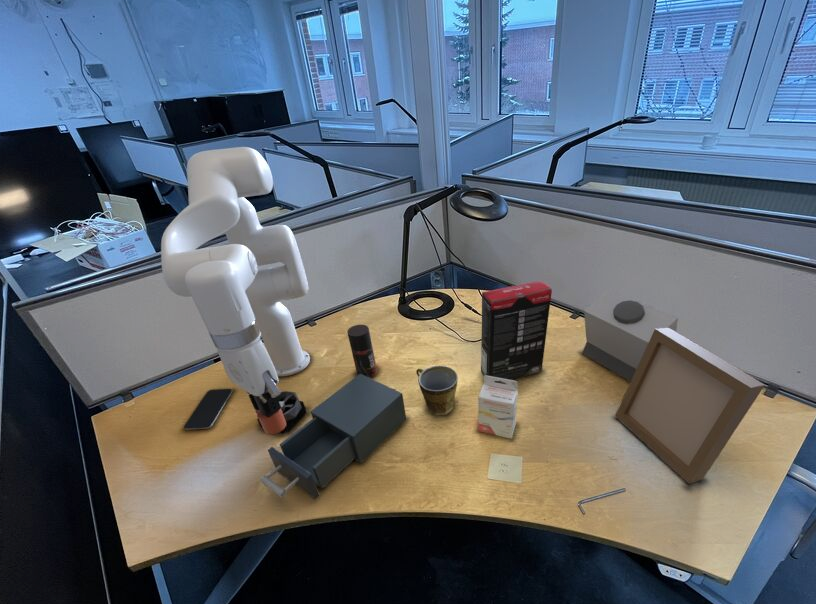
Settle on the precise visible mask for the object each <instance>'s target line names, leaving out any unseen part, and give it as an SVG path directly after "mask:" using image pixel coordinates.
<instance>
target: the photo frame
mask: <svg viewBox="0 0 816 604" xmlns="http://www.w3.org/2000/svg"><path fill="white" fill-rule="evenodd" d="M629 382H630V381H629ZM765 386H766V384H765V383H763V382H761V381H759V380H758V379H756V378H754V377H752V376H750V374H748V373H746V372H744V371H743V370H741V369H739V368H737V366H736V367H735V366H734V365H732V363H731V364H730V363H729V362H728V361H726V360H724V359H723V358H721V357H719V356H717V355H716V354H714V353H712V352H711V351H709V350H707V349H705V348H704V347H702V346H700V345H699V344H697V343H696V342H694V341H692V340H691V339H689V338H687V337H686V336H684V335H682V334H680V333H679V332H677V331H676V332H675V331H673V330H672V329H670V328H659V329H655V330H654V332H653V334H652V337H651V339H650V341H649V343H648V345H647V347H646V350H645V352H644V354H643V356H642V358H641V360H640V363H639V365H638V367H637V369H636V371H635V373H634V376H633V378H632V380H631V382H630V383H629V385H628V387H627V388H626V391H625V393H624V395H623V398H622V400H621V402H620V404H619V406H618V408H617V410H616V413H615V416H614V417H615V418H616V419H618V421H620V422H621V423H622V424H623V425H624V426H625V427H626V428H627V429H628V430H630V432H632V433H633V434H634V435H635V436H636V437H637V438H638V439H639V440H640V441H641V442H642V443H644V444H645V445H646V446H647V447H648V448H649V449H651V451H652V452H654V453H655V454H656V455H657V456H658V457H659V458H660V459H661V460H662V461H664V462H665V464H667V465H668V466H669V467H670V468H671V469H672V470H674V472H676V473H677V474H678V476H680V477H681V478H682V479H683V480H684V481H685V482H687V483H688V484H693V483H695V482H698V481H702V480H704V478H705V477H706V475H707V474H708V472H709V470H710V469H711V467H712V466H713V465H714V464H715V461H716V460H717V459H718V457H719V455H721V452H722V451H723V449H725V447H726V445H727V443H728V442H729V440H730V439H731V437H732V436H733V435H734V433H735V432H736V430H737V428H738V427H739V425H740V424H741V422H742V421H743V419H744V418H745V416H746V415H747V413H748V412H749V410H750V408H751V407H752V406H753V404H754V403H755V401H756V400H757V398H758V396H760V394H761V392H762V391H763V390H764V387H765Z"/></svg>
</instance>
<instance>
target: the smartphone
mask: <svg viewBox="0 0 816 604" xmlns="http://www.w3.org/2000/svg"><path fill="white" fill-rule="evenodd" d="M232 393H233V389H232V388H220V389H219V388H218V389H209V390H208V391H206V393H205V395H204V396H203V397H202V399H201V400H200V402H199V403H198V405H197V406H196V408H195V409H194V410H193V412H192V414H191V415H190V417H189V418H188V420H187V421H186V422H185V424H184V425H183V428H184V430H187V431H188V430H189V431H192V430H206V429H207V430H208V429H210V428H212V427H213V425H214V423H215V422H216V420H217V419H218V417H219V415H220V414H221V412H222V411H223V409H224V407H225V405H226V404H227V402H228V400H229V398H230V397H231V396H232Z"/></svg>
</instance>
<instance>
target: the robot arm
mask: <svg viewBox="0 0 816 604" xmlns="http://www.w3.org/2000/svg"><path fill="white" fill-rule="evenodd" d="M186 177H187V192H188V194H187V195H188V205H187V206H186V207H185V208H183V210H181V211H180V212H179V213H178V214H177V215H176V216H175V218H174V219H173V220H171V222H170V223H169V224H168V226H166V228H165V230H164V231H163V234H162V236H161V243H160V263H161V271H162V276H163V279H164V281H165V284H166V286H167V287H168V289H169V290H170V291H171V292H172V293H174V294H175V295H177V296H179V297H184V298H185V297H188V298H189V297H190V298H192V301H193V303H194V305H195V307H196V309H197V311H198V313H199V315H200V317H201V320H202V322H203V324H204V326H205V328H206V330H207V332H208V334H209V336H210V338H211V341H212V343H213V345H214V347H215V349H216V350H217V352H218V356H219V359H220V361H221V363H222V366H223V369H224V371H225V373H226V374H225V375H226V377H227V378H228V380H229V381H230V382H231V383H233V384H234V385H235V386H237V387H238V388H240V389H241V390H244V391H245V392H246V393H247V394H248V398H249V400H250V402H251V404H252V407H253V410H255V411H256V410H259V407H258V405H257V403H256V401H255V398H254V396H259V397H260V399H261V402H260V404H261V406H262V409H263V411H264V413H265V416H266V417H270V416H272V415H273V414H274V413H276V412H277V411H278V410H280V409H281V406H280V403H279V401H278V398H277V396H279V395H280V394H281V392H282V391H281V390H280V389H279V387H278V386H277V385H278V384H279V381H280V380H279V377H288V376H292V375H296V374H298V373H300V372H301V371H304V369H305V368H307V367H308V366H309V364H310V362H311V357H310V354H309V353H308V352H307V351H306V350H303V349H302V345H301V342H300V340H299V336H298V333H297V330H296V327H295V324H294V320H293V318H292V315H291V313H290V310H289V309H288V308H287V307H286V306H285V305H284V304H283V303H282V302H284V301H285V302H286V301H289V300H294V299H298V298H303V297H304V296H306V295H307V294H308V292H309V281H308V278H307V274H306V270H305V267H304V263H303V260H302V257H301V256H302V255H301V254H300V250H299V246H298V243H297V240H296V237H295V235H294V233H293V231H292V229H291V228H290V227H289V226H287V225H286V224H285V225H284V224H274V225H268V226H267V225H266V226H262V225H261V223H260V221H259V217H258V214H257V211H256V209H255V206H253V204H252V203H251V202H250V201H249V200H247V199H246V198H249V197H255V196H262V195H263V196H264V195H268V194H269V193H271V192H272V190H273V187H274V180H273V179H274V178H273V175H272V171H271V168H270V166H269V164H268V163H267V161H266V159H265V158H264V157H263V155H262V154H261V153H259V152H258V151H257V150H256V149H254V148H252V147H248V146H237V147H228V148H219V149H210V150H202V151H199V152H196V153H194V154H193V155H191V156H190V157H189V159H188V160H187V164H186ZM222 234H223V235H224V234H225V237H226V239H227V242H228V244H223V245H217V246H209V247H203V248H200V247H201V246H203V245H204V244H206V243H207V242H209V241H211V240H213V239H215V238H217V237H219V236H221V235H222ZM277 263H282V264H283V265H277V266H276V265H275V266H272V267H264V268H260V269H259V267H260V266H266V265H267V266H268V265H272V264H277ZM266 389H268V390H269V391H268V392H267V393H265V395H264V391H265V390H266ZM253 395H254V396H253Z"/></svg>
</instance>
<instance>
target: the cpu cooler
mask: <svg viewBox="0 0 816 604" xmlns="http://www.w3.org/2000/svg"><path fill="white" fill-rule="evenodd" d="M280 392H281V394H280V395H279V396H277V398H278V401H279V403H280V406H281V411H282V413H283V416H284V418H285V421H286V426H285V428H284V429H283V430H282V431H281V432H279V433H278V434H282V435H284V434H285V433H290V431H291V430H292V429H293V428H294V427H295V426H296V425H297V423H299V422H300V421H301V420H302V419H303V417H304V416H305V415H306V414H307V408H306V406H305V403H304V401H303V400H300V399H299V397H298V395H297V392H295V391H287V390H283V391H280ZM257 412H258V410H255V413H256V414H257ZM256 417H257V418H256V420H257V422H258V425H259V426H260V428H262V429H263V427H262V425H261V423H260V421H259V418H258V416H257V415H256Z"/></svg>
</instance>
